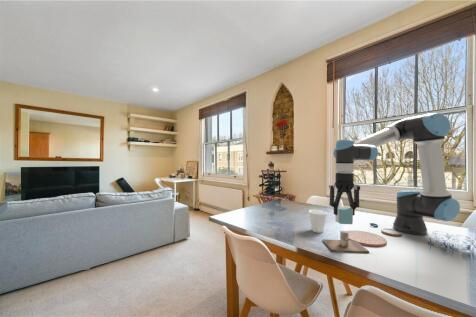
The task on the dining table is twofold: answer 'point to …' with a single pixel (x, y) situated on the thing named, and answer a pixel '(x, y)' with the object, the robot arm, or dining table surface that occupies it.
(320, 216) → the cup
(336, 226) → the dining table surface
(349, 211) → the teal block
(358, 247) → the dark wooden tray
